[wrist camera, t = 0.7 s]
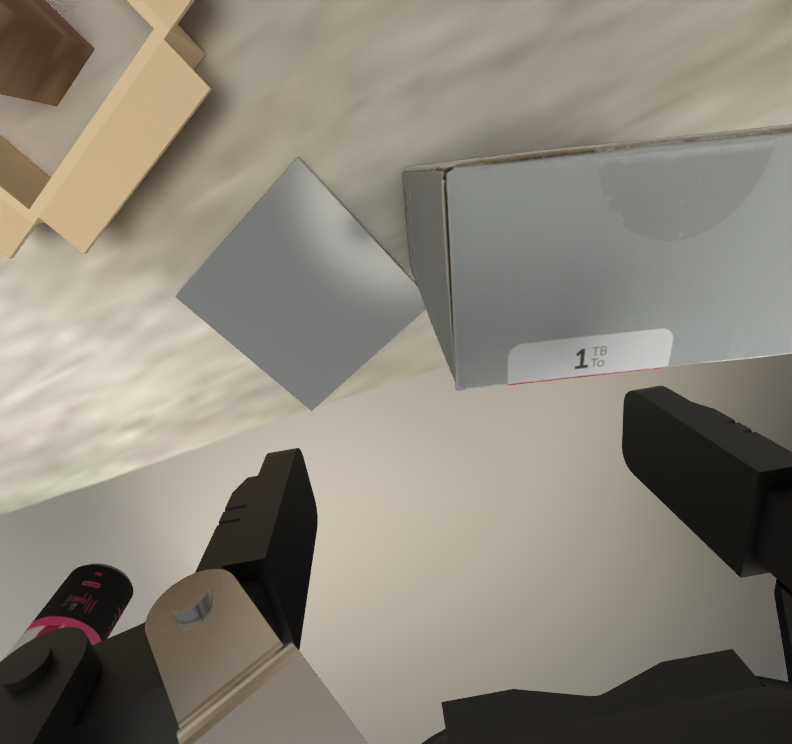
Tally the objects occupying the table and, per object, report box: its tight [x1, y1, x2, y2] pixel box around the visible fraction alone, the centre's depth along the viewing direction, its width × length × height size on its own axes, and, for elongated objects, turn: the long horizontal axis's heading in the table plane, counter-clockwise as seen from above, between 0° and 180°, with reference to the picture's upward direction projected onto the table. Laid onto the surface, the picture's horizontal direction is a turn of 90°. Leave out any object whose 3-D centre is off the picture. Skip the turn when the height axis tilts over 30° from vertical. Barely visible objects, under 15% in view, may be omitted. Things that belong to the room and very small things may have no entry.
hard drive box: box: [402, 124, 792, 391], centre depth 23 cm, size 16×8×20 cm, turn 95°
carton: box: [0, 0, 212, 259], centre depth 23 cm, size 20×17×10 cm
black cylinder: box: [5, 564, 133, 658], centre depth 39 cm, size 7×7×15 cm
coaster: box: [175, 157, 426, 411], centre depth 33 cm, size 14×14×1 cm
